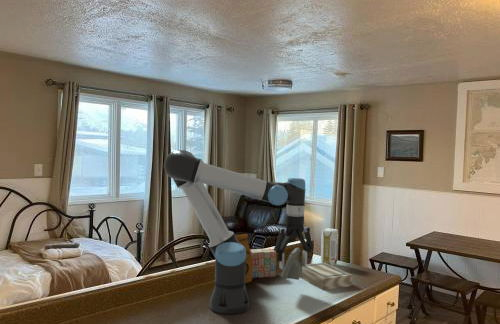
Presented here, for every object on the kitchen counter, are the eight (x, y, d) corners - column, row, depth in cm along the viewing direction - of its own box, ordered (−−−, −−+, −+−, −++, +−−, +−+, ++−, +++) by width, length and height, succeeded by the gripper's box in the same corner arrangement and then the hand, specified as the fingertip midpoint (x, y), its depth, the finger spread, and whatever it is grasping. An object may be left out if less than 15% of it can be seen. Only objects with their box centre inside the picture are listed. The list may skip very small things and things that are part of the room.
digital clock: (288, 269, 178) (289, 245, 178) (308, 273, 174) (309, 248, 174) (273, 278, 164) (274, 252, 164) (293, 282, 160) (295, 256, 159)
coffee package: (255, 283, 182) (256, 235, 182) (232, 288, 175) (234, 238, 174) (242, 277, 190) (243, 231, 190) (220, 282, 183) (221, 234, 182)
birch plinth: (322, 290, 175) (323, 278, 175) (296, 275, 195) (296, 265, 195) (352, 285, 182) (352, 274, 182) (323, 272, 202) (324, 262, 202)
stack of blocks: (233, 279, 187) (233, 253, 187) (229, 275, 193) (230, 250, 193) (276, 276, 194) (276, 251, 193) (271, 272, 200) (272, 248, 199)
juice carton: (338, 264, 218) (339, 229, 218) (332, 267, 211) (333, 231, 211) (325, 261, 222) (326, 227, 222) (319, 265, 215) (320, 229, 215)
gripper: (275, 217, 160) (273, 272, 161) (323, 215, 170) (320, 267, 170) (266, 214, 167) (264, 267, 168) (313, 213, 177) (311, 263, 177)
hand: (293, 267), depth 169 cm, fingers closed on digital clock, 10 cm apart
